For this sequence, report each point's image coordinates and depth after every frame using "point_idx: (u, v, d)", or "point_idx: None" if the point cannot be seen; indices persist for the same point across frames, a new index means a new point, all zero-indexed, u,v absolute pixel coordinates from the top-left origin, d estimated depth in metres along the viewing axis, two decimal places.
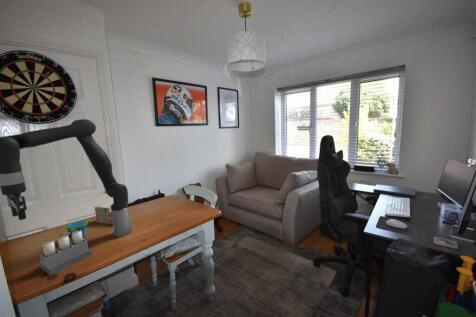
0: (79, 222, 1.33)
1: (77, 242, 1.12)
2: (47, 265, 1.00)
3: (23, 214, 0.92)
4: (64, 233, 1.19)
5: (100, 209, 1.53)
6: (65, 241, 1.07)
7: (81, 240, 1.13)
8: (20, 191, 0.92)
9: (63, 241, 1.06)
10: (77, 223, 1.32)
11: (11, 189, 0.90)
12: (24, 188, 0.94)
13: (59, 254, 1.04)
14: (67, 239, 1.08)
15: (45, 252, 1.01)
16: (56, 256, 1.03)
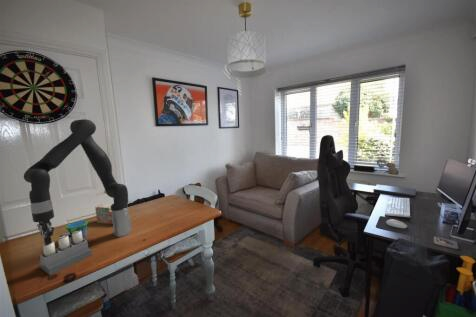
0: (79, 222, 1.33)
1: (77, 242, 1.12)
2: (47, 265, 1.00)
3: (49, 239, 1.02)
4: (64, 233, 1.19)
5: (101, 209, 1.53)
6: (65, 241, 1.07)
7: (81, 240, 1.13)
8: (49, 218, 1.00)
9: (63, 241, 1.06)
10: (77, 223, 1.32)
11: (42, 217, 0.98)
12: (53, 214, 1.02)
13: (59, 254, 1.04)
14: (67, 239, 1.08)
15: (45, 253, 1.01)
16: (56, 256, 1.03)
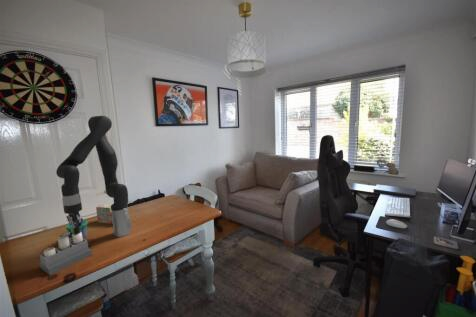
0: None
1: (77, 243, 1.12)
2: (47, 265, 1.00)
3: (78, 229, 1.12)
4: (64, 233, 1.19)
5: (101, 209, 1.53)
6: (65, 241, 1.07)
7: (81, 241, 1.13)
8: (78, 210, 1.10)
9: (63, 241, 1.06)
10: None
11: (72, 209, 1.08)
12: (81, 207, 1.12)
13: (59, 254, 1.04)
14: (67, 239, 1.08)
15: None
16: (56, 256, 1.03)
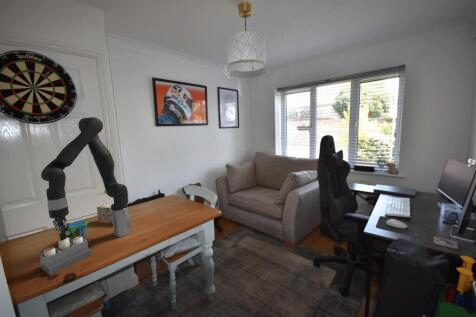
0: (79, 222, 1.33)
1: None
2: (47, 265, 1.00)
3: (64, 235, 1.07)
4: None
5: (102, 209, 1.53)
6: (65, 243, 1.07)
7: None
8: (65, 214, 1.05)
9: (63, 243, 1.06)
10: (77, 223, 1.32)
11: (58, 213, 1.03)
12: (68, 211, 1.07)
13: (59, 254, 1.04)
14: (67, 241, 1.08)
15: None
16: (56, 256, 1.03)
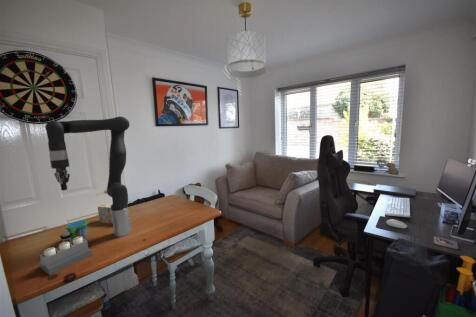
0: (79, 222, 1.33)
1: None
2: (47, 265, 1.00)
3: (65, 186, 1.15)
4: (64, 233, 1.19)
5: (103, 209, 1.53)
6: (66, 247, 1.07)
7: None
8: (65, 166, 1.13)
9: (64, 247, 1.07)
10: (77, 223, 1.32)
11: (59, 164, 1.10)
12: (68, 163, 1.15)
13: (59, 254, 1.04)
14: (68, 245, 1.08)
15: None
16: (56, 256, 1.03)
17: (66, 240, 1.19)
